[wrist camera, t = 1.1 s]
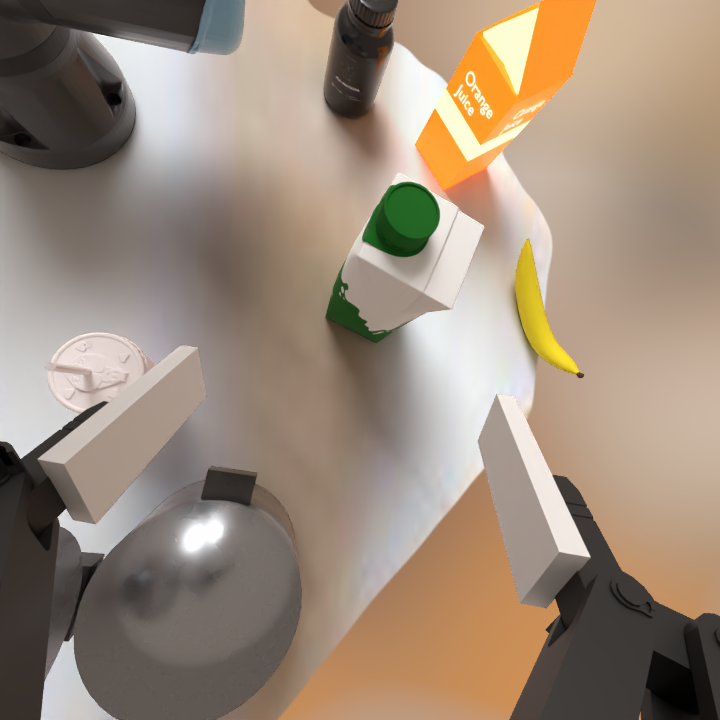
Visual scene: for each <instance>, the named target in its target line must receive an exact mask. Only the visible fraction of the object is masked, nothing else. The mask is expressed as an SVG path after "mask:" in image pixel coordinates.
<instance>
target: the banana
mask: <svg viewBox="0 0 720 720" xmlns="http://www.w3.org/2000/svg"><path fill="white" fill-rule="evenodd" d="M515 285H516V296H517V304H518V310H519V315H520V319H521V322H522V326H523V329H524V331H525V334H526V337H527V339H528V340H529V342H530V344H531V346H532V347H533V349H534V350H535V351H536V352H537V354H538V355H539V356H540V357H541V358H543V359H544V360H545V361H547V362H548V363H550V364H551V365H553V366H555V367H556V368H558V369H561V370H563V371H565V372H569V373H572V374H576V375H577V376H578V377H579V378H583V377H584V374H582V373H580V372H579V370H578V368H577V366H576V364H575V363H574V361H573V360H572V359H571V357H570V356H569V355H568V354H567V353H566V352H565V351H564V350H563V349H562V348H561V346H560V345H559V344H558V343H557V341H556V340H555V338H554V336H553V333H552V331H551V329H550V326H549V323H548V320H547V317H546V313H545V310H544V306H543V302H542V297H541V293H540V288H539V283H538V278H537V273H536V268H535V263H534V258H533V254H532V248H531V244H530V239H527V240H526V242H525V244H524V246H523V248H522V250H521V254H520V257H519V260H518V265H517V269H516V279H515Z"/></svg>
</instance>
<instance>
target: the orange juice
mask: <svg viewBox="0 0 720 720" xmlns="http://www.w3.org/2000/svg"><path fill="white" fill-rule="evenodd" d="M595 3H596V0H544V1H541V2H539V3H537V4H535V5H533V6H531V7H529V8H527V9H525V10H522V11H520V12H518V13H516V14H514V15H512V16H510V17H508V18H506V19H504V20H501V21H499V22H497V23H495V24H493V25H491V26H489V27H487V28H488V29H487V28H485V29H483V31H482V30H481V31H480V32H478V33H477V34H476V36H475V37H474V39H473V41H472V43H471V45H470V46H469V48H468V50H467V52H466V54H465V55H464V57H463V59H462V61H461V63H460V64H459V66H458V68H457V70H456V72H455V73H454V75H453V77H452V79H451V81H450V82H449V84H448V86H447V88H446V89H445V90H444V92H443V94H442V96H441V98H440V99H439V101H438V103H437V105H436V107H435V109H434V111H433V113H432V115H431V117H430V118H429V120H428V122H427V124H426V126H425V127H424V129H423V131H422V133H421V135H420V136H419V138H418V140H417V142H416V144H415V145H416V147H417V148H418V150H419V152H420V153H421V155H422V157H423V158H424V160H425V161H426V163H427V165H428V166H429V168H430V170H431V171H432V173H433V174H434V176H435V178H436V179H437V181H438V183H439V184H440V186H441V187H442V189H443V191H444V190H446V189H448V188H449V187H451V186H453V185H455V184H457V183H459V182H461V181H462V180H464V179H466V178H468V177H470V176H472V175H474V174H475V173H477V172H479V171H481V170H483V169H485V168H487V167H488V165H489V164H490V163H491V162H492V161H493V160H494V159H495V158H496V157H497V156H498V155H499V154H500V152H501V151H502V150H503V149H504V148H505V147H506V146H507V145H508V144H509V143H510V142H511V141H512V139H513V138H514V137H516V136H517V135H518V133H519V132H520V131H521V130H522V129H523V128H524V127H525V126H526V125H527V124H528V122H530V120H531V119H532V118H533V117H534V115H535V114H536V113H537V112H538V111H539V110H540V109H541V108H542V107H543V106H544V105H545V104H546V103H547V102H548V100H549V99H550V98H551V97H552V96H553V95H554V94H555V93H556V92H557V91H558V90H559V89H560V87H561V86H562V85H563V84H564V83H565V82H566V81H567V80H568V79H569V78H570V77H571V75H572V74H573V73H572V72H573V69H574V66H575V63H576V60H577V57H578V54H579V51H580V48H581V45H582V42H583V39H584V36H585V33H586V30H587V27H588V24H589V21H590V18H591V15H592V12H593V9H594V6H595ZM503 22H504V23H503ZM498 24H499V25H498ZM495 25H496V26H495ZM490 27H491V28H490Z"/></svg>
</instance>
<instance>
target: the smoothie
mask: <svg viewBox="0 0 720 720" xmlns="http://www.w3.org/2000/svg"><path fill="white" fill-rule="evenodd" d="M155 365H157V364H155V363H154V362H153V361H151V360H150V359H148V358H147V357H146V356H145V355H144V354H143V352H142V350H141V349H140V348H139V347H138V346H137V345H136V344H135V343H133V342H132V341H130V340H128V339H126V338H125V337H121V336H118V335H114V334H109V333H101V332H96V333H88V334H83V335H80V336H78V337H75V338H73V339H71V340H69V341H68V342H66V343H65V344H64V345H63V346H61V347H60V348H59V349H58V350H57V352H56V353H55V354H54V356H53V358H52V360H51V362H49V363H47V364H46V365H45V369H46V370H48V384H49V387H50V390H51V392H52V394H53V395H54V397H55V398H56V399H57V400H58V401H59V402H60V403H61V404H62V405H63V406H65V407H66V408H68V409H70V410H72V411H75V412H78V413H82V412H84V411H85V410H86V409H88V408H90V407H92V406H94V405H96V404H99V403H101V402H103V401H107V402H110V401H111V400H112V399H114V398H115V397H116V396H118V395H119V394H120V393H121V392H123V391H124V390H125V389H126V388H128V387H129V386H130V385H131V384H133V383H134V382H135V381H136V380H138V379H139V378H140V377H141V376H143V375H144V374H145V373H147V372H148V371H149V370H150V369H152V368H153V367H154V366H155Z"/></svg>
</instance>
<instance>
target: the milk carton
mask: <svg viewBox="0 0 720 720" xmlns="http://www.w3.org/2000/svg"><path fill="white" fill-rule="evenodd" d="M458 209H459V208H458V207H457V206H456V205H454V204H453V203H451V202H449V201H447V200H444V199H443V198H441V197H440V196H438V195H436V194H435V193H433V192H431V191H430V190H428V189H427V188H425V187H423V186H422V185H420V184H418V183H417V182H415V181H413V180H412V179H410V178H409V177H407V176H405V175H404V174H402V173H398V174H397V175H396V177H395V179H394V180H393V182H392V183H391V185H390V186H389V188H388V190H387V191H386V193H385V194H384V196H383V197H382V199H381V201H380V202H379V204H378V205H377V207H376V208H375V210H374V211H373V213H372V215H371V216H370V218H369V219H368V221H367V223H366V224H365V226H364V228H363V229H362V231H361V233H360V234H359V236H358V237H357V239H356V241H355V243H354V245H353V247H352V249H351V250H350V252H349V254H348V256H347V258H346V260H345V262H344V264H343V266H342V268H341V270H340V272H339V274H338V277H337V279H336V282H335V284H334V287H333V290H332V294H331V298H330V301H329V305H328V309H327V313H326V317H327V318H329V319H331V320H333V321H335V322H337V323H338V324H340V325H342V326H344V327H346V328H348V329H350V330H352V331H354V332H356V333H358V334H360V335H362V336H364V337H366V338H368V339H370V340H372V341H374V342H376V343H377V342H378V341H380V340H381V339H383V338H384V337H386V336H387V335H389V334H390V333H392V332H393V331H395V330H396V329H398V328H399V327H401V326H403V325H405V324H407V323H408V322H410V321H412V320H414V319H416V318H417V317H419V316H421V315H423V314H425V313H426V312H433V311H441V310H449V309H452V307H453V305H454V302H455V300H456V297H457V295H458V292H459V290H460V287H461V285H462V282H463V280H464V277H465V275H466V272H467V270H468V267H469V265H470V262H471V260H472V257H473V255H474V252H475V250H476V247H477V245H478V242H479V240H480V237H481V235H482V232H483V230H484V227H485V226H483V225H482V224H480V223H479V222H477V221H475V220H474V219H472V218H471V217H469V216H467V215H466V214H464V213H463V212H461V211H459V210H458Z"/></svg>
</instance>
